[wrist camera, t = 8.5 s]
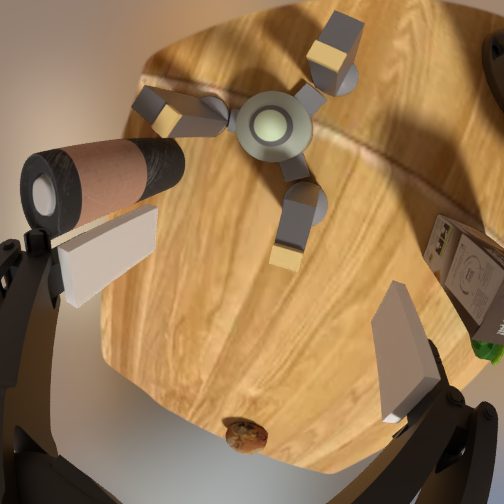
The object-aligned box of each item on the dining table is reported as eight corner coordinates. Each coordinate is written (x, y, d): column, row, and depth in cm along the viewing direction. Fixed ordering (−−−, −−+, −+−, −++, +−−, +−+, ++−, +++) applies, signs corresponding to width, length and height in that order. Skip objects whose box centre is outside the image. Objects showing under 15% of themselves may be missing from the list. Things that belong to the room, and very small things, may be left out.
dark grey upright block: (322, 48, 23) (316, 0, 12) (364, 68, 23) (383, 29, 12) (303, 83, 25) (288, 49, 15) (346, 104, 25) (356, 80, 14)
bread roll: (231, 417, 59) (217, 442, 54) (237, 416, 51) (221, 446, 46) (266, 431, 58) (253, 457, 53) (277, 432, 50) (263, 462, 45)
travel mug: (149, 130, 33) (21, 144, 15) (194, 145, 32) (63, 164, 14) (136, 180, 36) (19, 222, 18) (178, 199, 35) (60, 257, 18)
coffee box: (420, 259, 29) (467, 341, 15) (437, 212, 27) (505, 270, 12) (471, 275, 28) (523, 350, 13) (488, 233, 25) (556, 293, 11)
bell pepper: (490, 273, 26) (522, 311, 18) (506, 305, 27) (532, 343, 18) (450, 311, 30) (473, 357, 22) (469, 338, 31) (489, 382, 22)
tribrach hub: (308, 70, 25) (302, 52, 19) (355, 155, 27) (362, 158, 21) (222, 116, 30) (197, 112, 24) (266, 195, 32) (250, 209, 26)
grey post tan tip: (183, 121, 31) (119, 119, 20) (207, 89, 28) (149, 71, 18) (211, 145, 31) (154, 151, 20) (237, 113, 29) (188, 100, 18)
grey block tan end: (288, 176, 30) (265, 195, 20) (332, 188, 29) (334, 215, 19) (279, 218, 32) (252, 258, 22) (320, 230, 31) (314, 276, 21)
